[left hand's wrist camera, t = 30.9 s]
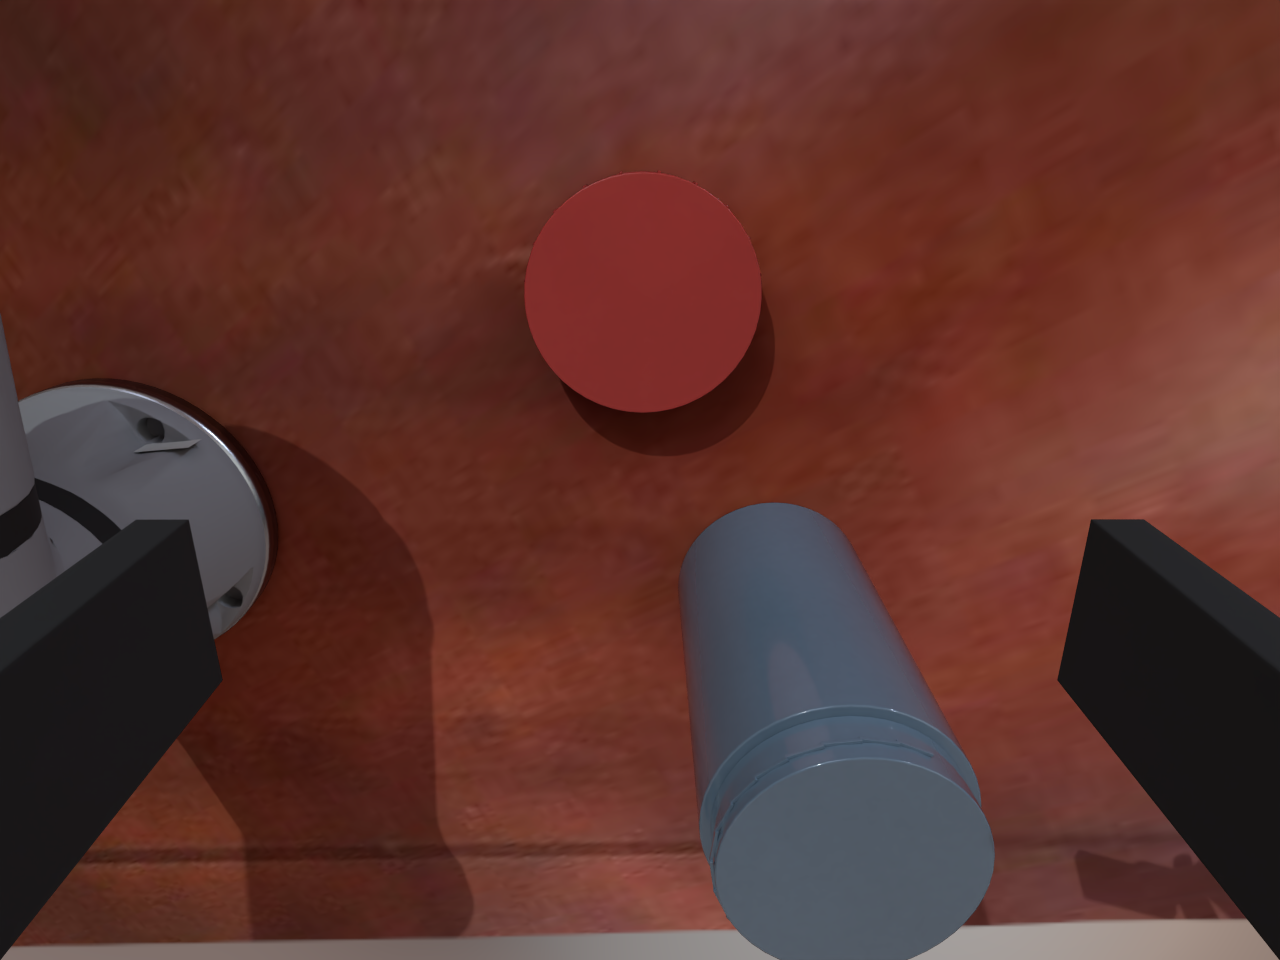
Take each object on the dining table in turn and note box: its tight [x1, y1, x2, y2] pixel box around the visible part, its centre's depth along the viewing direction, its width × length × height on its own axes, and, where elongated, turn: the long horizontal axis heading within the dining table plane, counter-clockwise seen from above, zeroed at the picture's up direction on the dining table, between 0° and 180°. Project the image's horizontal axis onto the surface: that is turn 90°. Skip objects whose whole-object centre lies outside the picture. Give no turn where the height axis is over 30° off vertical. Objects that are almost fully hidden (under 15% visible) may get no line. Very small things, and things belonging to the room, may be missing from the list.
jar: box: [678, 503, 995, 960], centre depth 37 cm, size 10×10×20 cm
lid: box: [524, 171, 762, 413], centre depth 40 cm, size 11×11×2 cm
